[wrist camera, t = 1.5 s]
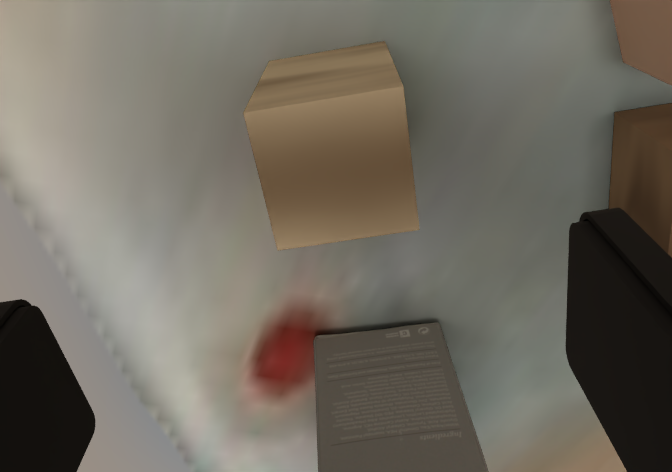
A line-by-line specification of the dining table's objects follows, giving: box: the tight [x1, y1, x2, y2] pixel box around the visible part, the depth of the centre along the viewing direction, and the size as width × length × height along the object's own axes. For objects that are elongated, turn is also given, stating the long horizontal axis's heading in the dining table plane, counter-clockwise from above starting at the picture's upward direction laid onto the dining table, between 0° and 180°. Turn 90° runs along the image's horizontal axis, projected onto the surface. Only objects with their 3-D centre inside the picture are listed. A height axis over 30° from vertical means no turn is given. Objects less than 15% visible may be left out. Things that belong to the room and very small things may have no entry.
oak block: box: [243, 41, 419, 250], centre depth 20 cm, size 4×4×7 cm
